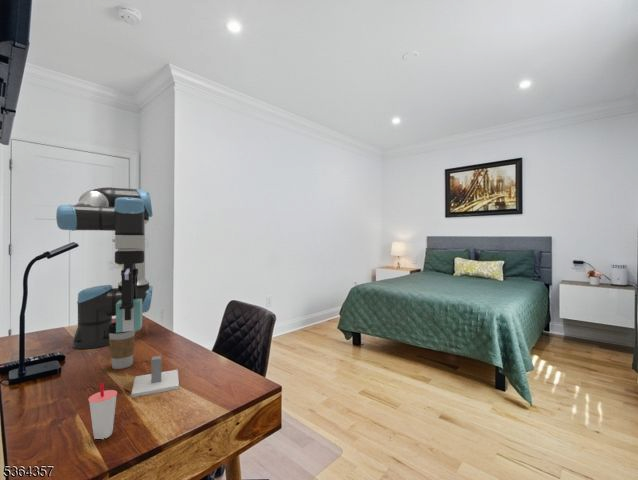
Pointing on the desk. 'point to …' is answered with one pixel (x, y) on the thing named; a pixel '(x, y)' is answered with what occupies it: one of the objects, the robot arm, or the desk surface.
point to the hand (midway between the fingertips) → (129, 327)
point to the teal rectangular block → (137, 315)
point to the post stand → (155, 380)
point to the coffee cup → (121, 347)
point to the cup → (102, 412)
